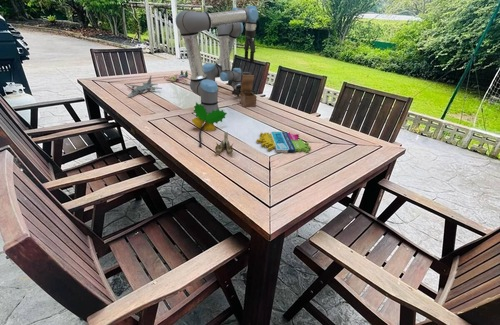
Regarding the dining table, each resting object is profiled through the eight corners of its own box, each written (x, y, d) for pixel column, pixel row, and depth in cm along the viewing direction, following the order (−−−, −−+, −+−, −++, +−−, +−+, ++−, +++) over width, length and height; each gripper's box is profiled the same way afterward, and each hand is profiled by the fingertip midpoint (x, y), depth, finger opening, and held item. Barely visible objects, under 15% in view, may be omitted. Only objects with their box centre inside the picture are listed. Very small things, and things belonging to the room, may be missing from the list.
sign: (313, 150, 142) (258, 149, 139) (312, 153, 143) (258, 152, 140) (301, 132, 164) (254, 130, 161) (301, 134, 165) (254, 133, 162)
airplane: (121, 87, 235) (119, 76, 230) (157, 85, 248) (156, 74, 243) (125, 100, 206) (123, 87, 201) (166, 97, 219) (165, 85, 214)
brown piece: (254, 75, 207) (251, 70, 212) (243, 75, 204) (240, 70, 210) (251, 91, 216) (248, 85, 222) (240, 91, 214) (238, 85, 219)
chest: (255, 106, 211) (256, 96, 206) (244, 107, 208) (245, 96, 204) (250, 102, 221) (251, 91, 217) (240, 102, 219) (240, 91, 214)
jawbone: (234, 135, 144) (233, 125, 135) (233, 160, 138) (232, 151, 129) (217, 135, 144) (216, 125, 135) (216, 160, 138) (214, 150, 129)
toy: (196, 71, 285) (184, 76, 259) (196, 78, 288) (184, 83, 262) (173, 69, 290) (158, 73, 264) (173, 75, 293) (159, 80, 267)
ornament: (218, 133, 171) (224, 110, 169) (221, 134, 163) (227, 111, 161) (186, 125, 162) (192, 101, 160) (189, 126, 155) (195, 101, 153)
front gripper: (261, 31, 182) (258, 63, 193) (250, 29, 203) (248, 58, 213) (251, 31, 180) (249, 63, 190) (240, 29, 201) (239, 58, 211)
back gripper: (252, 92, 238) (260, 99, 221) (225, 93, 231) (231, 100, 213) (253, 84, 234) (260, 90, 217) (225, 84, 227) (231, 90, 210)
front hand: (248, 61), depth 202 cm, fingers open, 13 cm apart
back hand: (246, 95), depth 215 cm, fingers open, 13 cm apart
